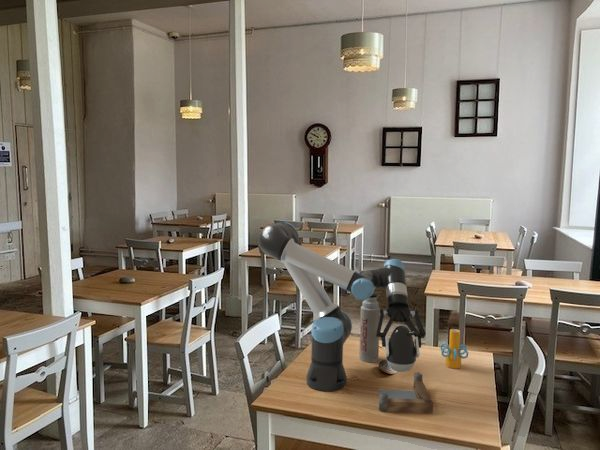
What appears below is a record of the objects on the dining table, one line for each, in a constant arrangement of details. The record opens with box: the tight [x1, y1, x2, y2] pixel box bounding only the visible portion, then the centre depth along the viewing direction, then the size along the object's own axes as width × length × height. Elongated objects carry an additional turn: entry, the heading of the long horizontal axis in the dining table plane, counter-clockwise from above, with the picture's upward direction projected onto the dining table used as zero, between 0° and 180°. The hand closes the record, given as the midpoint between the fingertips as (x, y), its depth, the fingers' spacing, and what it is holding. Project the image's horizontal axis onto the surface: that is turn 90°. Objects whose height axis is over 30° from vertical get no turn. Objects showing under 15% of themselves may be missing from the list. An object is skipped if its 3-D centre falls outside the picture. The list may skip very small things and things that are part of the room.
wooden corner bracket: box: [378, 372, 434, 414], centre depth 174 cm, size 18×21×5 cm
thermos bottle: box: [358, 293, 381, 363], centre depth 209 cm, size 8×8×28 cm
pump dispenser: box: [385, 325, 417, 373], centre depth 171 cm, size 10×10×15 cm
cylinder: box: [440, 328, 469, 370], centre depth 203 cm, size 12×10×15 cm
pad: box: [377, 389, 418, 399], centre depth 173 cm, size 13×13×1 cm
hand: (402, 355), depth 168 cm, fingers closed on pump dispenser, 9 cm apart
